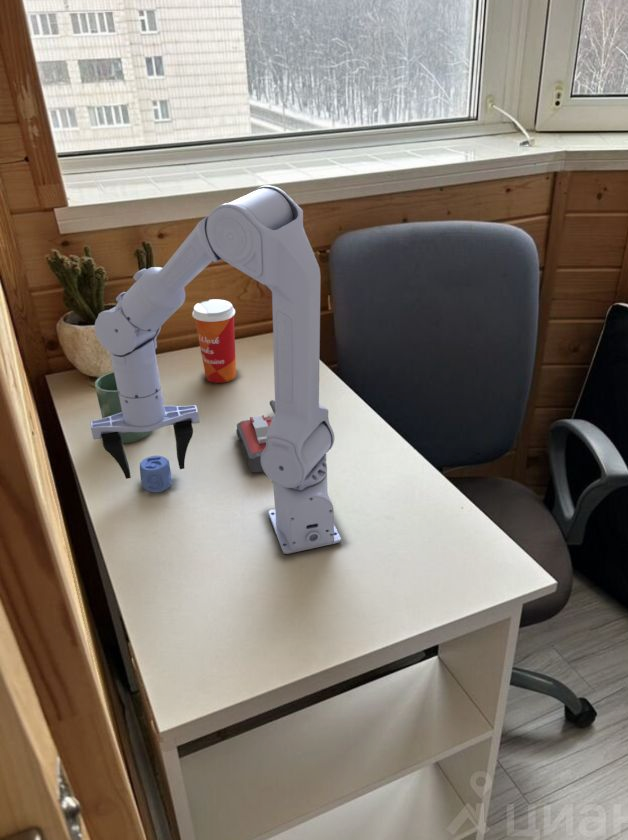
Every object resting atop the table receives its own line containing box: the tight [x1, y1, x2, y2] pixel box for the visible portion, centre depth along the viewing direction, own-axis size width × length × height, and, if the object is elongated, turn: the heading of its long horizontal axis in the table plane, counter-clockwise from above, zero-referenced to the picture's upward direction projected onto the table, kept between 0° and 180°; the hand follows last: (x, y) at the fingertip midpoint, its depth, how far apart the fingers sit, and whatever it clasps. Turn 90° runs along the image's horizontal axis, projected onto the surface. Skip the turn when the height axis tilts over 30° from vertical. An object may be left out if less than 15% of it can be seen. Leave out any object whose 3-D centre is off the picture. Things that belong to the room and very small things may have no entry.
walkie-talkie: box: [235, 399, 275, 474], centre depth 117 cm, size 9×4×20 cm
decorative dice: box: [139, 455, 173, 493], centre depth 107 cm, size 4×4×4 cm
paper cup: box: [191, 298, 237, 384], centre depth 133 cm, size 8×8×14 cm
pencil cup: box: [94, 371, 152, 444], centre depth 118 cm, size 7×7×10 cm
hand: (154, 470), depth 106 cm, fingers open, 7 cm apart
